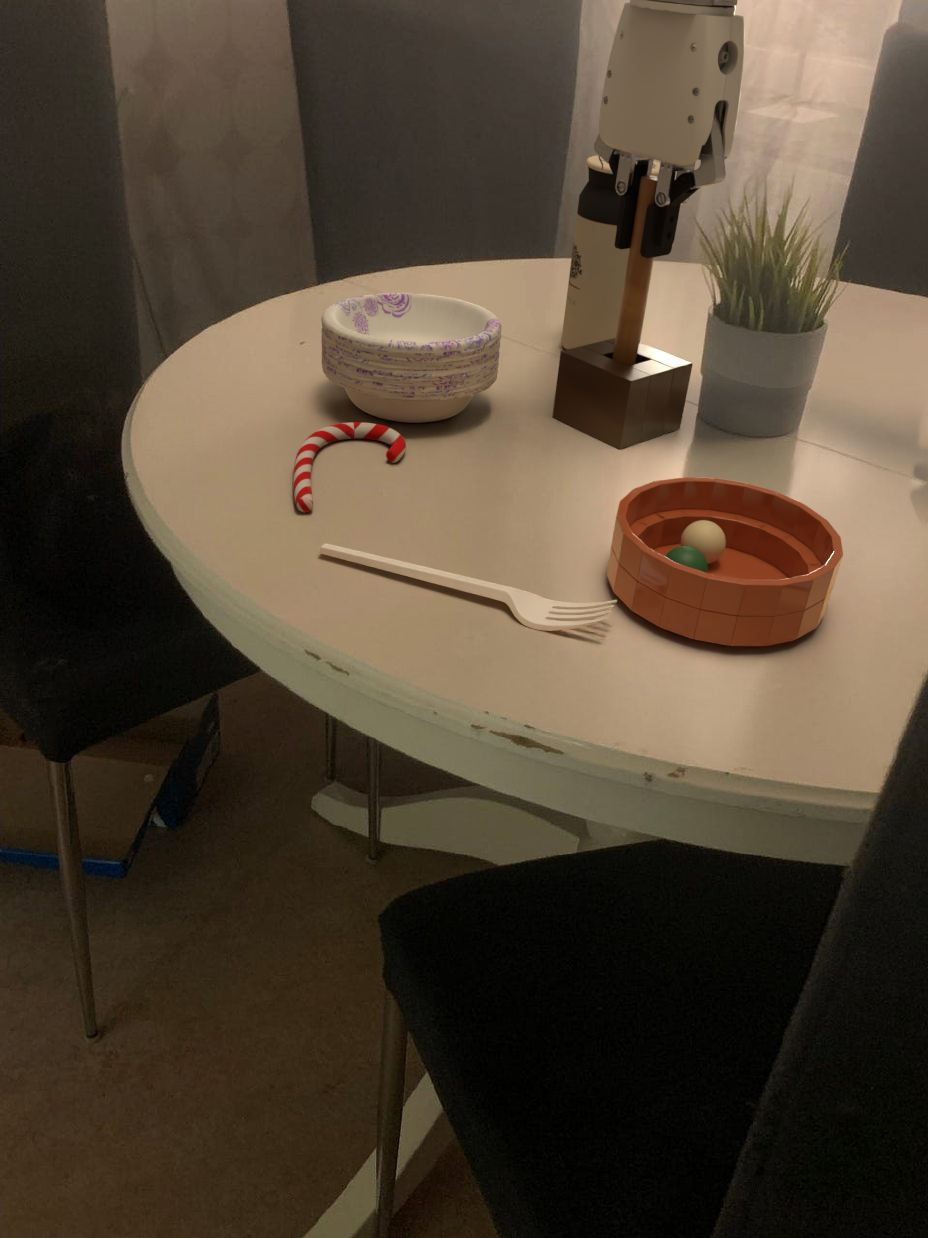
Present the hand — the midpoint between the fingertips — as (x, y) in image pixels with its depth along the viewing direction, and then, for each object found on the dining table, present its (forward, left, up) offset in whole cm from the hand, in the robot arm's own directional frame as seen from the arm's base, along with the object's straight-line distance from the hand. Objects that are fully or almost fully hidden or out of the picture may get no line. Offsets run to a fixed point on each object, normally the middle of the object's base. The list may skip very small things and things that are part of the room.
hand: (642, 249), depth 87 cm
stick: (0, 0, -11) cm, 11 cm away
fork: (+30, +13, -15) cm, 36 cm away
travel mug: (-13, -14, -15) cm, 24 cm away
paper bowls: (+13, -13, -15) cm, 24 cm away
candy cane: (+26, -5, -15) cm, 30 cm away
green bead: (+18, +22, -13) cm, 31 cm away
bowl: (+16, +23, -15) cm, 32 cm away
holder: (0, 0, -15) cm, 15 cm away
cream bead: (+14, +21, -13) cm, 28 cm away
